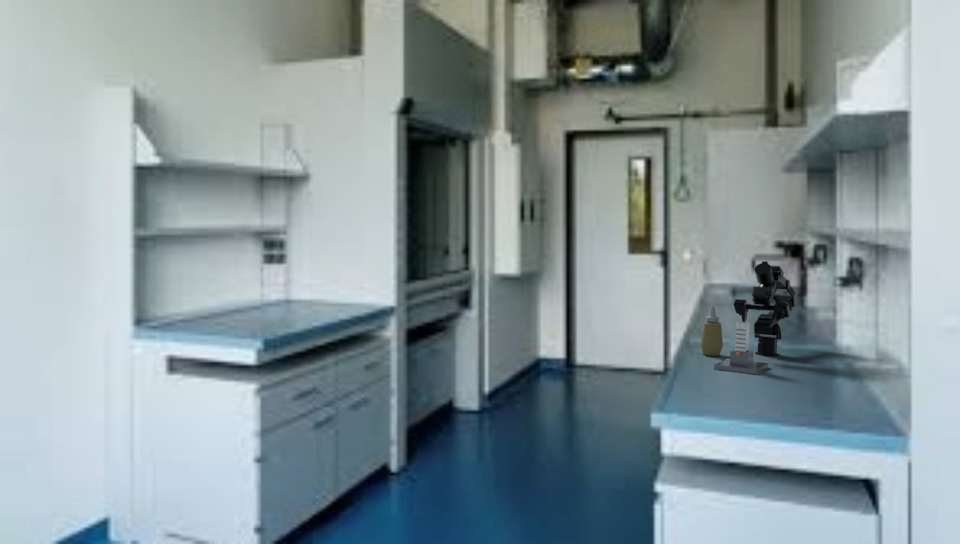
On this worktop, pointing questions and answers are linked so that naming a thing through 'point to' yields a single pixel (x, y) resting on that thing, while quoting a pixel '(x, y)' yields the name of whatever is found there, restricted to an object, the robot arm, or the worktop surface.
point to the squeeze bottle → (711, 335)
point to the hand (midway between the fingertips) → (756, 326)
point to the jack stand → (741, 363)
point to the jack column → (742, 336)
